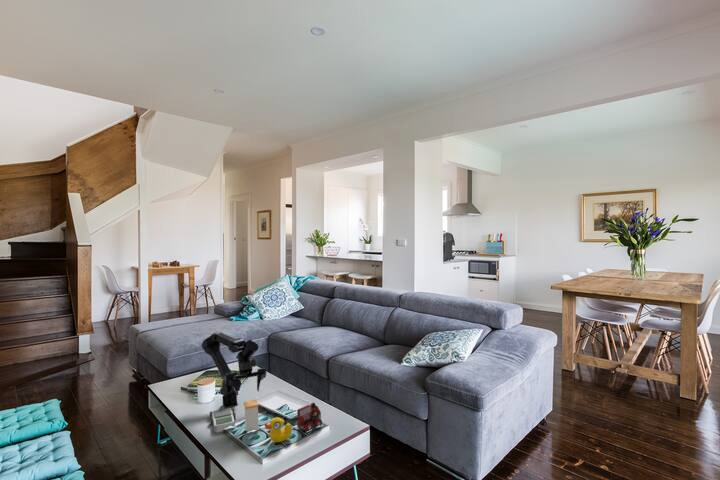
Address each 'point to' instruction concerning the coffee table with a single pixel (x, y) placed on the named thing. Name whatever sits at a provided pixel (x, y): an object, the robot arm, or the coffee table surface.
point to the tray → (281, 401)
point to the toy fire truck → (309, 417)
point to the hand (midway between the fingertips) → (248, 393)
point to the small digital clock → (222, 419)
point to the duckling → (278, 430)
